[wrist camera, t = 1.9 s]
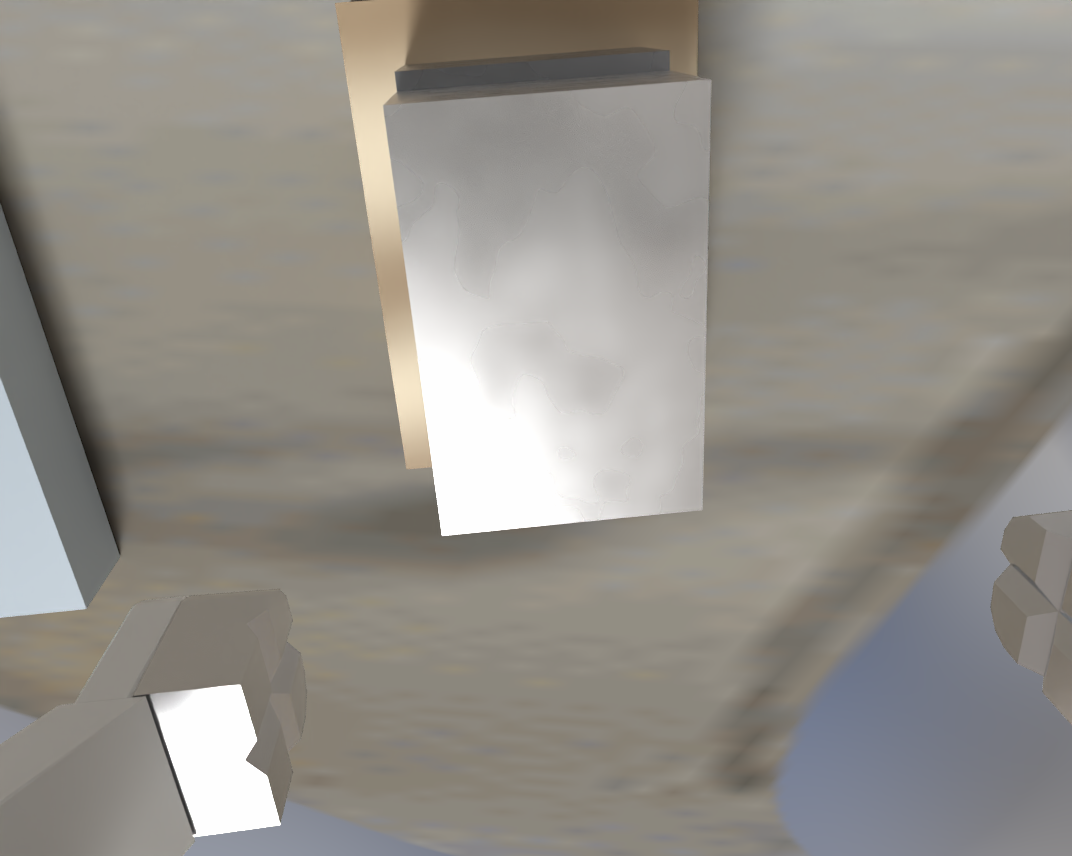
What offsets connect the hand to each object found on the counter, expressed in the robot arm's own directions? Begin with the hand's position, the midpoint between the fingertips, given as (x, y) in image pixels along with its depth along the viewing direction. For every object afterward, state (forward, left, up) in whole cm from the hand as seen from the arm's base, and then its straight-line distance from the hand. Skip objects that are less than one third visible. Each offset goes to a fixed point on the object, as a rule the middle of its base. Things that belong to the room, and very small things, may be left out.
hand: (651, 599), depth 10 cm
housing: (0, 0, -16) cm, 16 cm away
